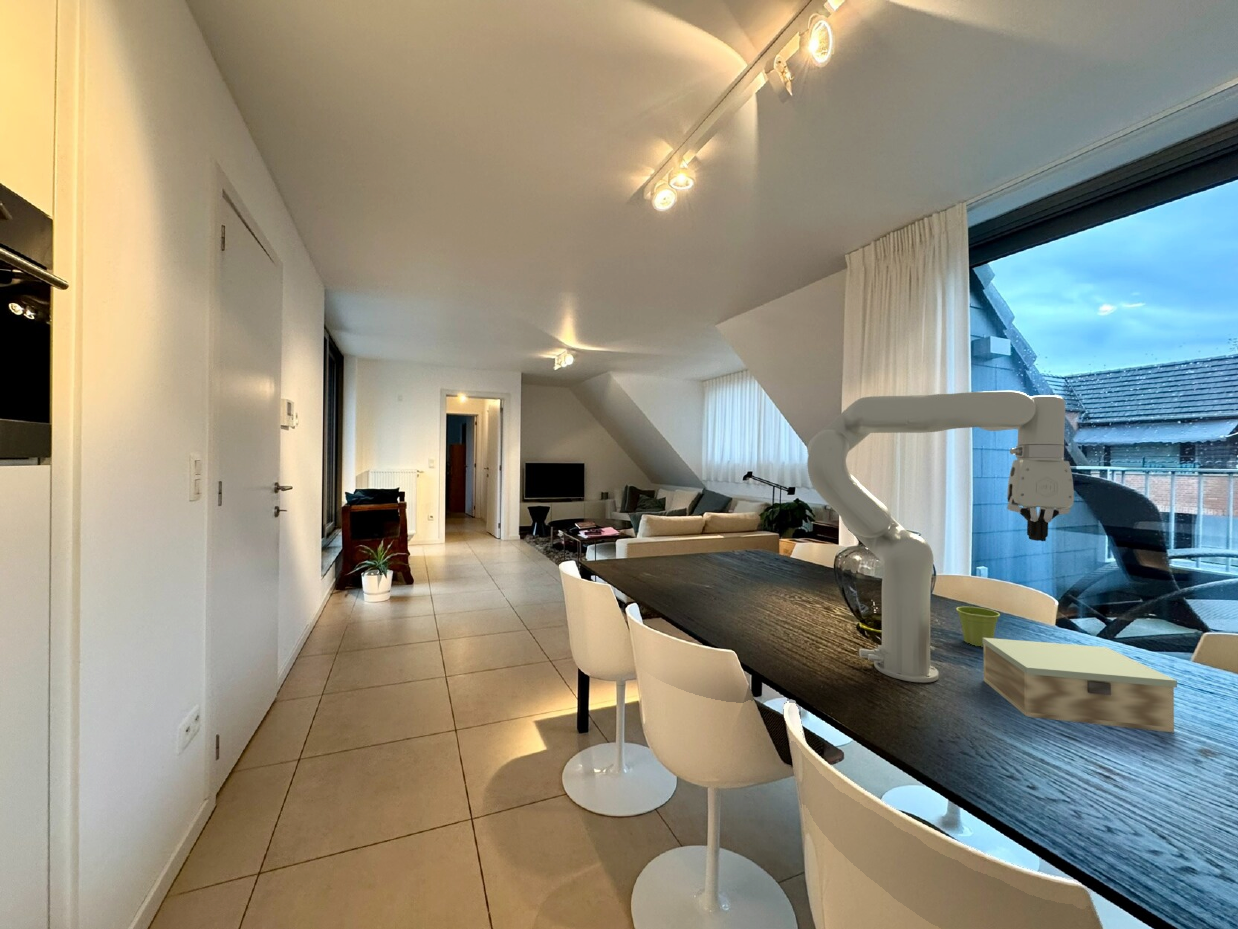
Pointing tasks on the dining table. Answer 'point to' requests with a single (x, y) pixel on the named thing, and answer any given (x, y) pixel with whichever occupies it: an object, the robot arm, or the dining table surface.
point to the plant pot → (977, 624)
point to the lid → (1076, 662)
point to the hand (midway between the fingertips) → (1037, 539)
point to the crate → (1081, 697)
